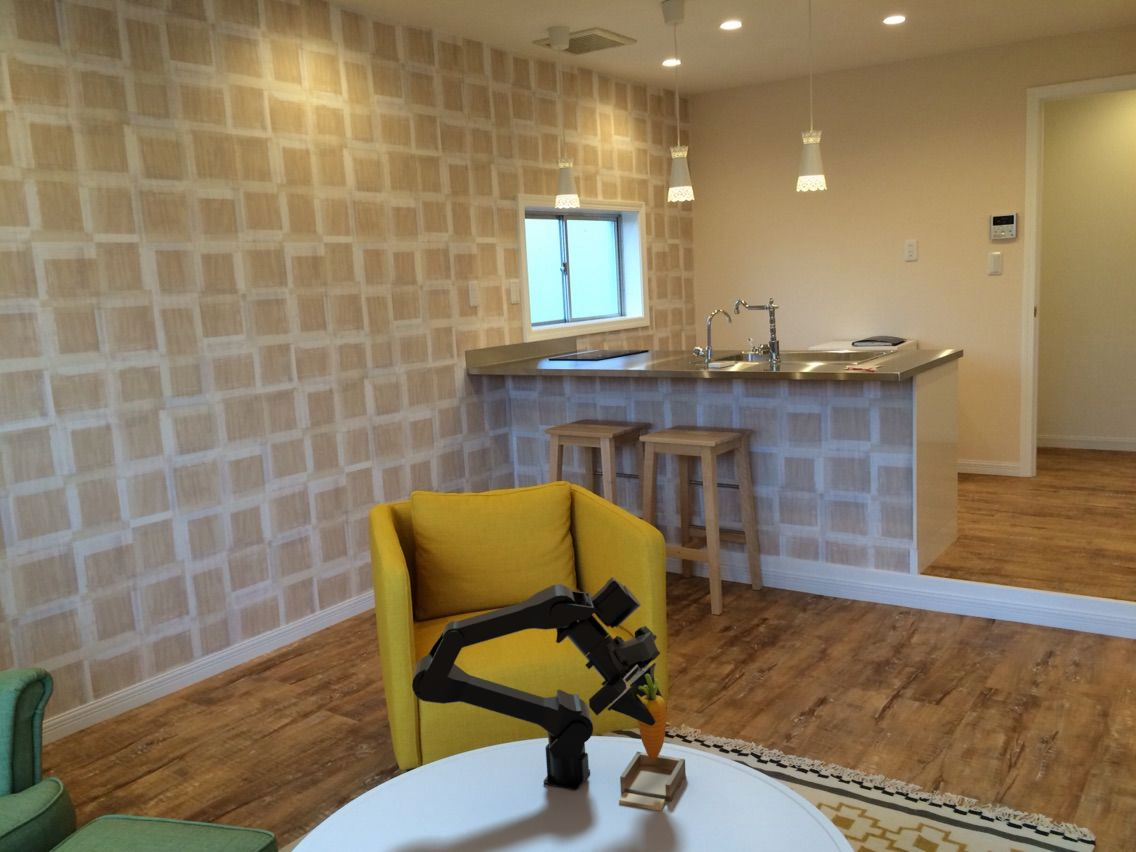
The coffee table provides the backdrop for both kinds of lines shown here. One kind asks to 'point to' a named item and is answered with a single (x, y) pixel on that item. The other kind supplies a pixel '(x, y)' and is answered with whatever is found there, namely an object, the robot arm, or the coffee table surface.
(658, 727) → the carrot
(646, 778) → the wooden tray
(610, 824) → the coffee table surface
